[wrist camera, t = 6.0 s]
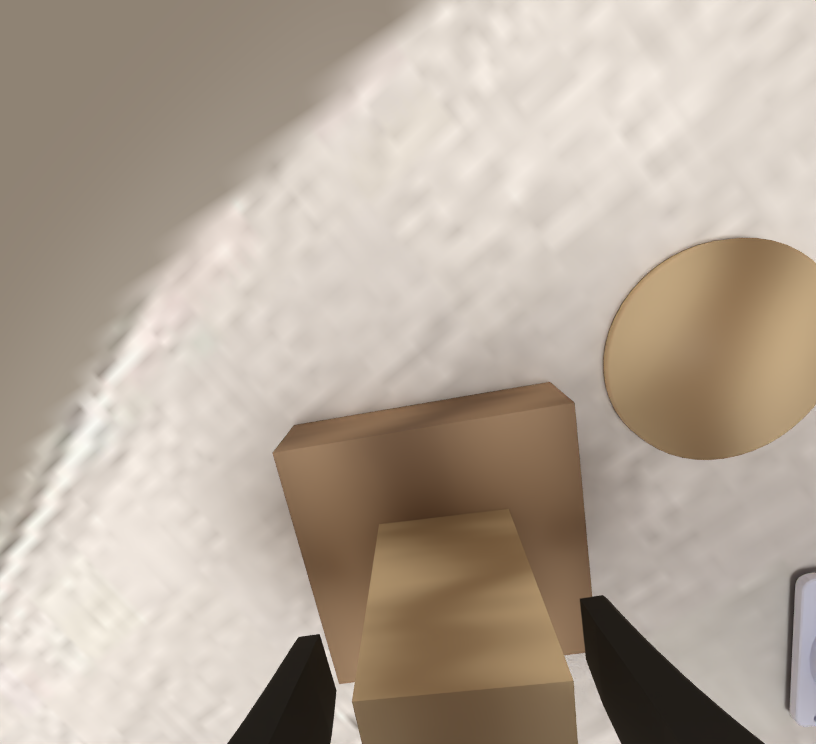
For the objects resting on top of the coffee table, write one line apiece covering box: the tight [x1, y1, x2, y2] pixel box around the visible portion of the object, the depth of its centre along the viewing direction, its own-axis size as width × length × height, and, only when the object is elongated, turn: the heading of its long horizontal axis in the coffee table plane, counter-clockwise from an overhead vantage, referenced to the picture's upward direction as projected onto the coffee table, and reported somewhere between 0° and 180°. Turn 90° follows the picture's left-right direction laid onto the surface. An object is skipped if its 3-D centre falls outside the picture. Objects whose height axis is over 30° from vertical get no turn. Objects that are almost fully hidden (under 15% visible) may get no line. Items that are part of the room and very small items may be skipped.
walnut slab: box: [273, 382, 592, 684], centre depth 16 cm, size 10×10×3 cm
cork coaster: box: [604, 238, 816, 460], centre depth 15 cm, size 8×8×1 cm
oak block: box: [352, 509, 578, 744], centre depth 12 cm, size 4×4×6 cm
